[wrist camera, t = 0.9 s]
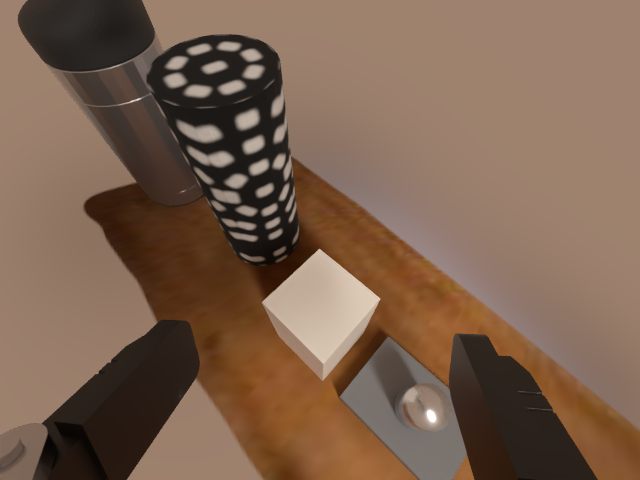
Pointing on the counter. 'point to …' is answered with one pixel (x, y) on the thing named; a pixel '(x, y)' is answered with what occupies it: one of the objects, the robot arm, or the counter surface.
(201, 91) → the white-spotted black cylinder
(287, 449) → the counter surface
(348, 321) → the block
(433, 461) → the base plate
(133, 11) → the robot arm
